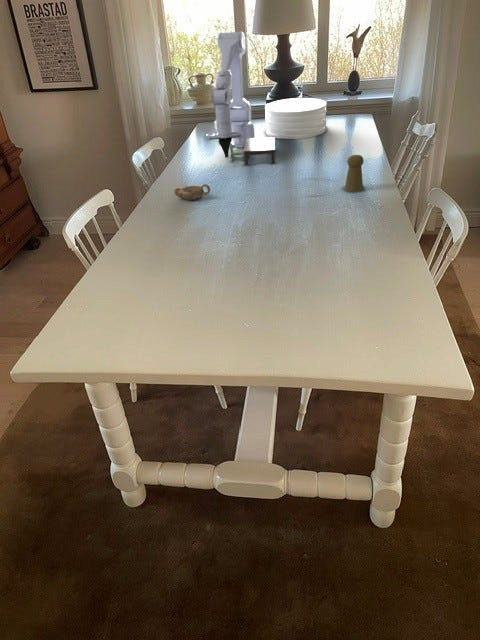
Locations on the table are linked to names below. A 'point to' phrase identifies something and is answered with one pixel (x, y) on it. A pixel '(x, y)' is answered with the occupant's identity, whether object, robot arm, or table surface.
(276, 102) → the plate stack
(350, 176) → the cork
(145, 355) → the table surface
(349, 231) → the table surface
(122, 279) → the table surface
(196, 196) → the oil lamp
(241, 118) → the robot arm
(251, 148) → the desk
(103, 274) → the table surface
